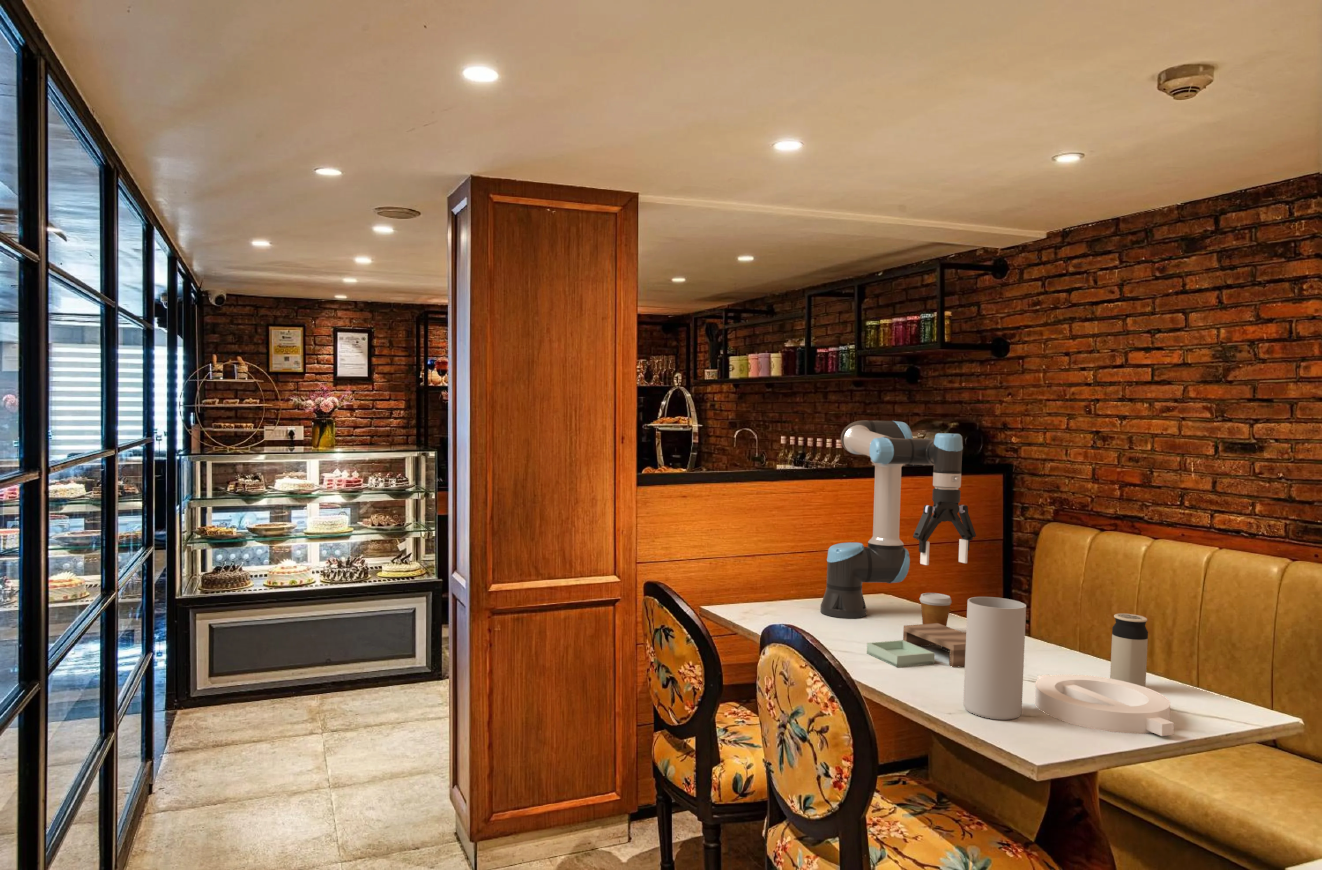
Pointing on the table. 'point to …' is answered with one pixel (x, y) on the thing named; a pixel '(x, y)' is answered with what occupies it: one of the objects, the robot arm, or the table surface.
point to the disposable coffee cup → (935, 608)
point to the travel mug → (1129, 649)
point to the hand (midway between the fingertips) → (943, 563)
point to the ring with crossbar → (1104, 704)
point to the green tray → (900, 653)
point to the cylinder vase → (994, 657)
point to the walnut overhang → (938, 640)
